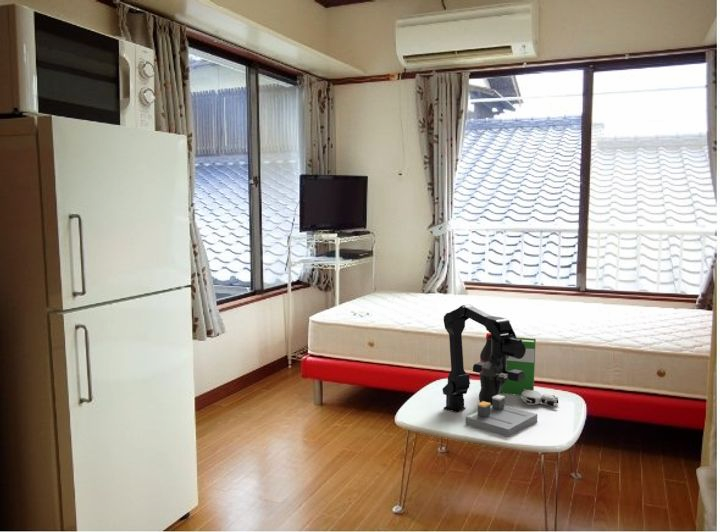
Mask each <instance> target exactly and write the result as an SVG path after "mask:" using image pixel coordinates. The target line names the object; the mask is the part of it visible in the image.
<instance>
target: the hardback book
mask: <svg viewBox="0 0 720 532" xmlns="http://www.w3.org/2000/svg"><path fill="white" fill-rule="evenodd" d="M515 339H521V340H522V343H523V344H524V346H525V348H526V352H525V355H524V356H523V357H522V358H521V359H517V358H514V357H510V356H509V358H507V366H508V369H506V370H507V371H511V370H514V369H516V370H521V371H523V372H524V373H525V379H522V380H520V381H512V380H509V379H507V380H506V381H505V383H504V385H503V387H502V389H501V391H500V393H499V394H504V395H513V394H515V395H516V396H521V393H522V392H523V391H525V390H524V389H526V390H532V391H535V369H536V368H535V365H536V363H535V362H536V338H533V337H532V338H531V337H519V336H516V338H515Z"/></svg>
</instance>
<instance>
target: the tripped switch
mask: <svg viewBox="0 0 720 532" xmlns="http://www.w3.org/2000/svg"><path fill="white" fill-rule="evenodd" d="M490 405H491V403H488V402H485V401H483V402H480V401H479V402H477V412H478V416H482V417H486V416H488V415H490Z"/></svg>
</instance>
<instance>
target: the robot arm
mask: <svg viewBox="0 0 720 532" xmlns="http://www.w3.org/2000/svg"><path fill="white" fill-rule="evenodd" d="M469 319H470V320H472V321H474V322H476V323H478V324H480V325H481V326H483V327H485V330H486V331H487V333H491V334H490V335H489V336H488V337H487V338H488V339H491V340H492V341H491V355H490V356H489V360H488V362H486V363H484V362H480V361H479V362H477V363H474V364H473V366H472V372H474V373H478V374H480V372H481V371H482V372H483V375H485V376H487V377H489V378H490V379H491V381H492V383H493V386H494V390H495V393H496V394H499V395H500V394H501V393H500V391H501V389H502V387H503V385H504V383H505V381H506V380H507V379H509V380H512V381H520V380H522V379H525V373H524V372H523V371H521V370H516V369H514V370H511V371H507V370H506V369H508V366H507V358H509V356H510V357H514V358H517V359H521V358H522V357H523V356H524V355H525V352H526V348H525V346H524V344H523V343H522V340H521V339H515V338H516V337H517V335H516V332H515V330H514V329H513V327H512V324H511V321H510V320H509V319H508V318H507V317H506V318H505V317H501V316H494V315H491V314H489V313H487V312H485V311H483V310H481V309H478V308H477V307H475V306H474V305H472V304H464V305H463V304H462V305H461V306H459V307H457V308H456V309H453V310H452V311H451V310H450V312H446V313H445V314H444V315H443V324H444V329H445V330H446V333H448V338H449V339H448V341H449V354H450V355H449V356H450V372H449V374H448V375H447V383H446V384H445V386H444V387H443V388H442V394H443V395H445V396H446V397H445V399H446V400H445V406H443V409H444V410H447V411H450V412H455V413H458V412H460V411H463V410H465V409H466V406H465V398H464V395H466V394H467V393H468V389H470V385H471V381H470V376H471V375H470V374H469V373H467V372H466V371H465V368H464V366H465V365H464V353H463V351H464V349H463V338H462V337H463V335H462V334H463V332H464V329H465V328H466V321H467V320H469Z"/></svg>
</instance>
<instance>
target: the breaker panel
mask: <svg viewBox="0 0 720 532" xmlns="http://www.w3.org/2000/svg"><path fill="white" fill-rule="evenodd" d="M464 421H465V422H464V423H465V426H468V427H472V428H475V429H479V430H482V431H485V432H488V433H491V434H495V435H498V436H502V437H505V438H510V437H512V436H514V435H515V434H518V433H519V432H521V431H523V430H525V429H527V428H529V427H530V426H532V425H535V423H537V422H538V413H534V412H531V411H528V410H523V409H520V408H519V409H518V408H516V407H511V406H507V405H504V408H502V409H500V410H497V409H493V408H492V405H491V406H490V415H488V416H486V417H482V416H478V411H476V412H474V413H471V414H469V415H467V416H465V420H464Z"/></svg>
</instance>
